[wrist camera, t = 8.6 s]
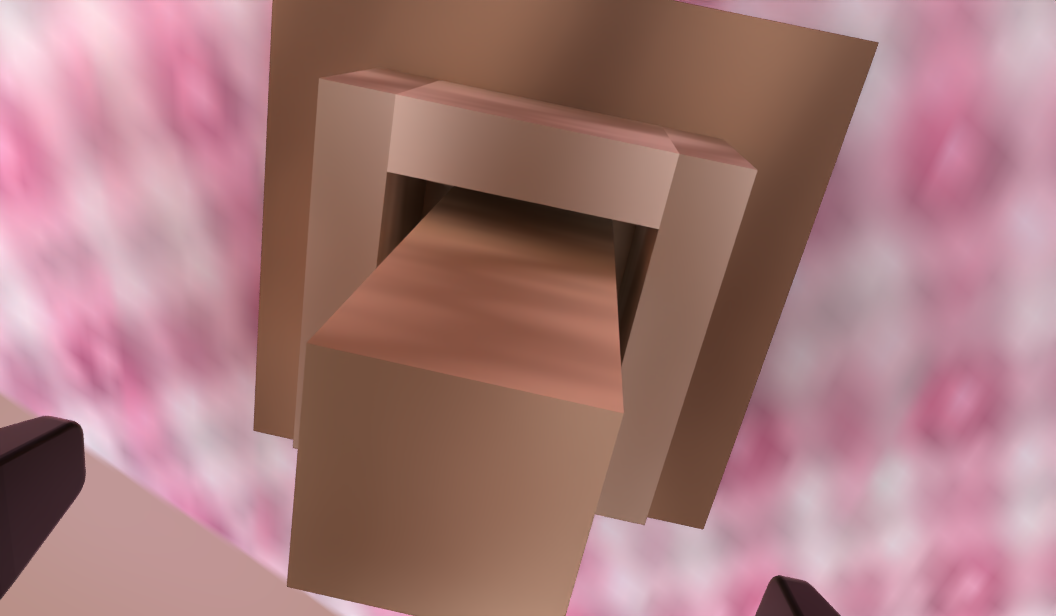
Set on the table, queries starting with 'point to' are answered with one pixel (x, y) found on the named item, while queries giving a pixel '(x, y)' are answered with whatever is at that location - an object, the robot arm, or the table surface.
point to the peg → (462, 415)
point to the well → (563, 186)
